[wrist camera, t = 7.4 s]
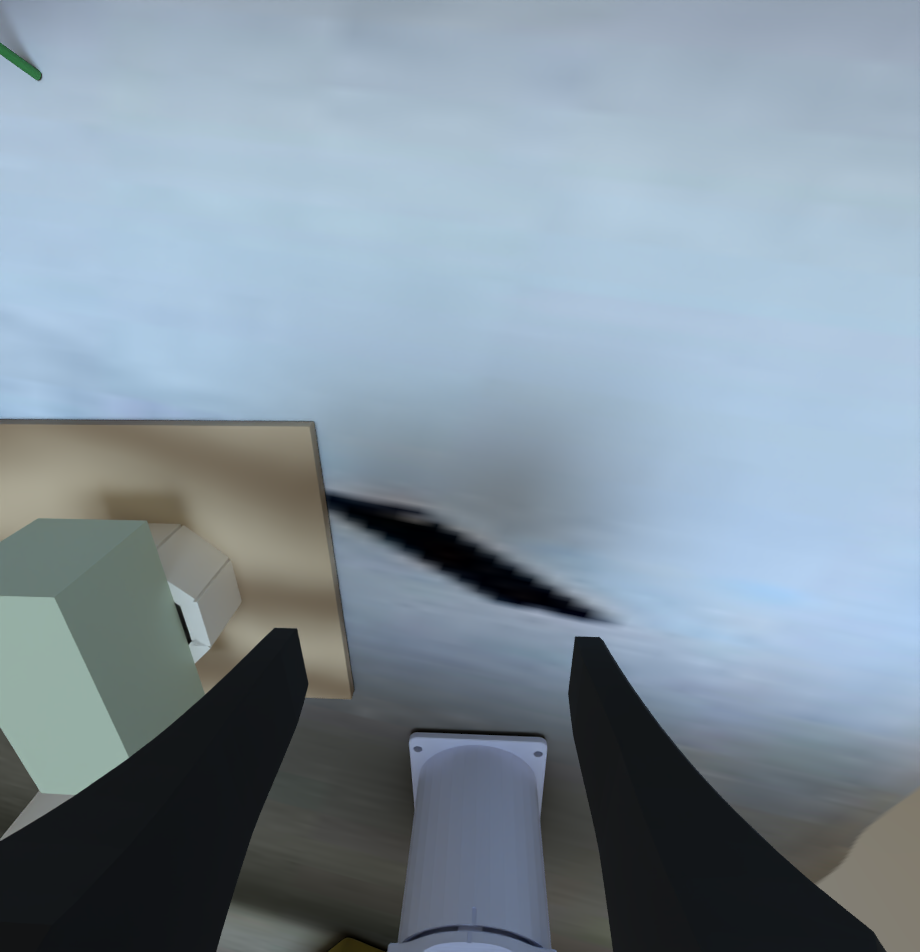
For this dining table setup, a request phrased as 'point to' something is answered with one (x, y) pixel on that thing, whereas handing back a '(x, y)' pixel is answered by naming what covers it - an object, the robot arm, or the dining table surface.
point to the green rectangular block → (87, 648)
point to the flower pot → (353, 946)
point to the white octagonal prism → (197, 584)
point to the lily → (19, 62)
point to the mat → (201, 516)
